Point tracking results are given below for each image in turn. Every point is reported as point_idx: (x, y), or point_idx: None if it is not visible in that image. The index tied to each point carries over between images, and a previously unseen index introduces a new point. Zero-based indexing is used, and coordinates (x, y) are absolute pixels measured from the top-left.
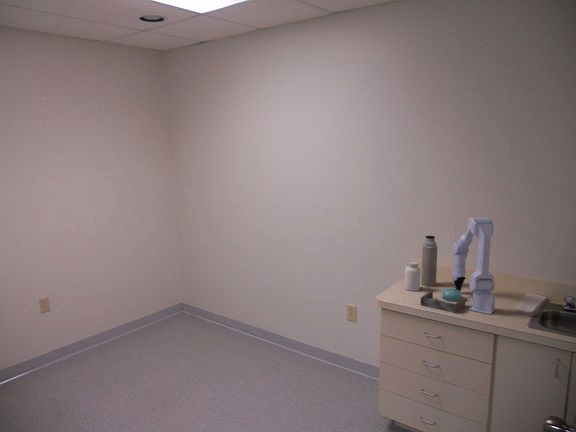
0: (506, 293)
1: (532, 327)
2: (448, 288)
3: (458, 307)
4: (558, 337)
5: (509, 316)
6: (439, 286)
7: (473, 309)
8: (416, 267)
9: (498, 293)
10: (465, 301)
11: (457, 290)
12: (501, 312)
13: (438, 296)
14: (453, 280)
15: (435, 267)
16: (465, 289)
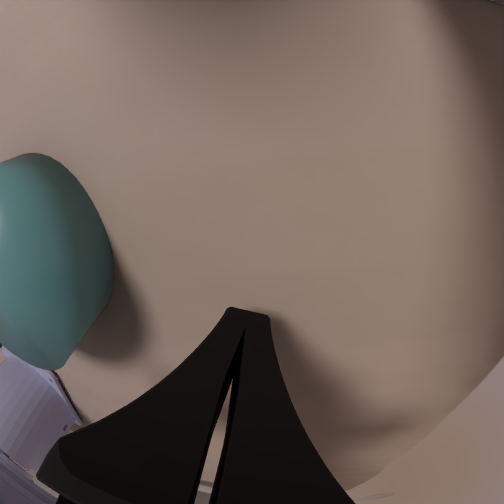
0: (357, 480)
1: None
2: (15, 240)
3: None
4: None
5: (69, 431)
6: (465, 34)
7: (5, 353)
8: None
9: (350, 470)
10: (2, 345)
11: (44, 344)
12: (79, 428)
13: (25, 111)
14: (97, 422)
15: None
16: (421, 353)
